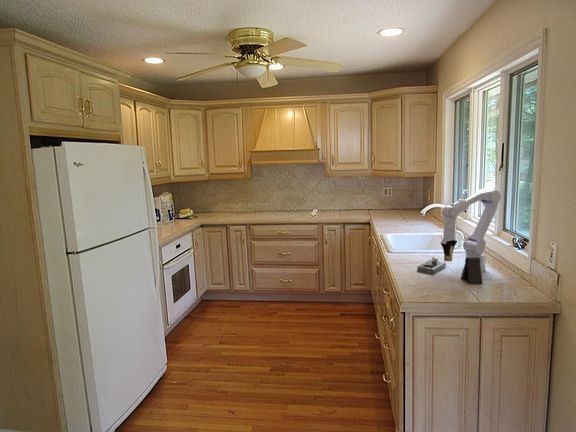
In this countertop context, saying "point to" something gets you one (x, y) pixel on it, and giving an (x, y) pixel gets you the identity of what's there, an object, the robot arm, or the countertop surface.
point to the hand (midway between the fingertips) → (448, 254)
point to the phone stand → (472, 271)
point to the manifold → (431, 266)
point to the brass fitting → (449, 258)
